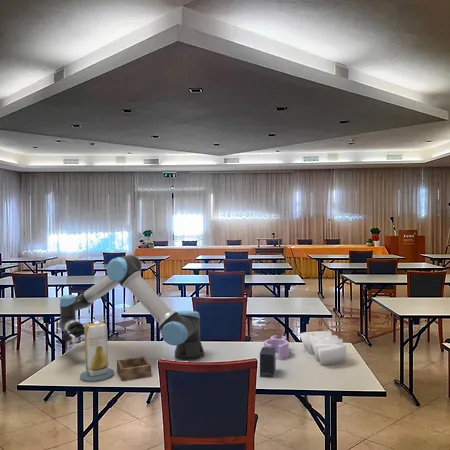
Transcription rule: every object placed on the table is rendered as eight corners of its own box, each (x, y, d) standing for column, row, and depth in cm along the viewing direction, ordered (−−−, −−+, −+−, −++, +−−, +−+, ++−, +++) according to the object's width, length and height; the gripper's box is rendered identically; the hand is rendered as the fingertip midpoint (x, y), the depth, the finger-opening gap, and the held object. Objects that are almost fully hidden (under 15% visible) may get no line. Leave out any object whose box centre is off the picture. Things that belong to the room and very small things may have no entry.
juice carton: (89, 378, 198) (87, 324, 198) (84, 373, 205) (82, 321, 204) (110, 373, 203) (108, 321, 203) (104, 368, 210) (102, 318, 209)
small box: (274, 377, 196) (273, 354, 196) (259, 377, 197) (259, 353, 197) (276, 369, 206) (275, 347, 206) (262, 368, 208) (261, 346, 207)
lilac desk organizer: (268, 347, 241) (267, 335, 240) (291, 348, 238) (290, 335, 237) (262, 359, 221) (261, 345, 221) (287, 360, 218) (286, 346, 218)
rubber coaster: (111, 368, 214) (111, 365, 214) (116, 378, 200) (116, 376, 200) (79, 373, 208) (79, 370, 208) (81, 384, 194) (81, 381, 194)
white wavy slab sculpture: (351, 367, 207) (350, 344, 206) (316, 369, 205) (316, 346, 205) (327, 345, 242) (327, 326, 241) (298, 347, 240) (297, 327, 240)
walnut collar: (145, 366, 215) (144, 356, 215) (151, 376, 202) (151, 365, 202) (116, 370, 210) (116, 360, 210) (121, 380, 197) (121, 369, 197)
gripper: (98, 331, 235) (114, 340, 218) (49, 340, 220) (62, 350, 203) (97, 317, 235) (113, 324, 218) (48, 325, 220) (62, 334, 203)
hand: (89, 337), depth 210 cm, fingers open, 13 cm apart
